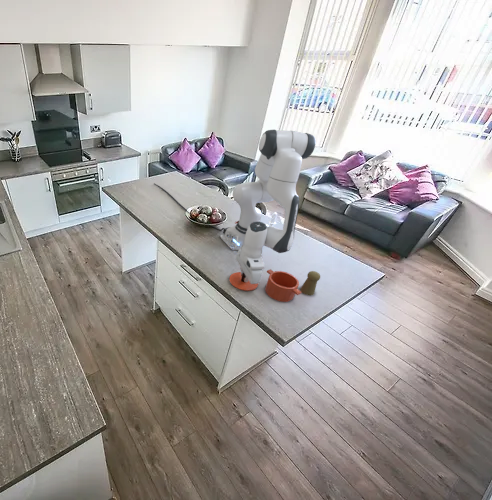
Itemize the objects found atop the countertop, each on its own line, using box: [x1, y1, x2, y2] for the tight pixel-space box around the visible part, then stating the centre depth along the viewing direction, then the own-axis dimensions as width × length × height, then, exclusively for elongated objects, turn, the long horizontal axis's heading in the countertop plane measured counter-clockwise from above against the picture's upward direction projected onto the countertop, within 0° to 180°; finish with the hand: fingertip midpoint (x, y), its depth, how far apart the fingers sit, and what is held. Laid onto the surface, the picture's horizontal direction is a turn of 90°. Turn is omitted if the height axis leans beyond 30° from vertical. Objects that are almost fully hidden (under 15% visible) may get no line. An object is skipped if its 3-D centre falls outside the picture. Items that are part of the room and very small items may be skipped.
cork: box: [299, 270, 321, 296], centre depth 135 cm, size 6×6×11 cm
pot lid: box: [228, 271, 259, 292], centre depth 141 cm, size 14×14×5 cm
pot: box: [264, 268, 303, 303], centre depth 135 cm, size 13×18×8 cm
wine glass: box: [268, 211, 278, 227], centre depth 184 cm, size 5×5×12 cm
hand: (244, 278), depth 141 cm, fingers closed on pot lid, 2 cm apart
